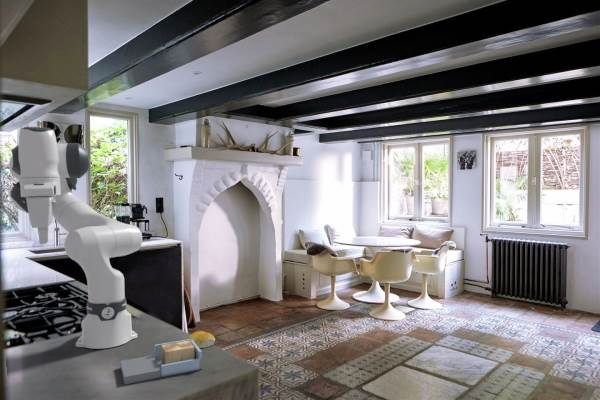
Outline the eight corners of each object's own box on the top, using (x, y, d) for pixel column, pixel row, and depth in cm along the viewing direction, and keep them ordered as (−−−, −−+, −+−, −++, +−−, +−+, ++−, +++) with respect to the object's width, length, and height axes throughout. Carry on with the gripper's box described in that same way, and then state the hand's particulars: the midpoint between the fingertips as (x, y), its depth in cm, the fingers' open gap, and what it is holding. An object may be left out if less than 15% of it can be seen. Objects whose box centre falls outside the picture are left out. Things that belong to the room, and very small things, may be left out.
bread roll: (203, 338, 147) (203, 326, 147) (219, 344, 141) (219, 332, 141) (182, 344, 141) (181, 332, 141) (197, 351, 135) (197, 338, 135)
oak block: (161, 345, 125) (189, 340, 128) (162, 362, 125) (189, 357, 128) (165, 352, 119) (194, 346, 123) (165, 369, 119) (194, 364, 123)
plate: (120, 367, 122) (120, 360, 122) (153, 361, 126) (153, 355, 126) (124, 384, 112) (124, 377, 112) (160, 377, 116) (160, 370, 116)
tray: (154, 361, 126) (154, 344, 126) (192, 354, 132) (191, 338, 131) (161, 377, 116) (161, 358, 116) (202, 369, 121) (201, 351, 121)
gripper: (30, 190, 118) (33, 240, 118) (21, 189, 100) (25, 248, 100) (56, 189, 121) (59, 238, 121) (53, 188, 103) (56, 246, 103)
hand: (44, 243), depth 110 cm, fingers closed
